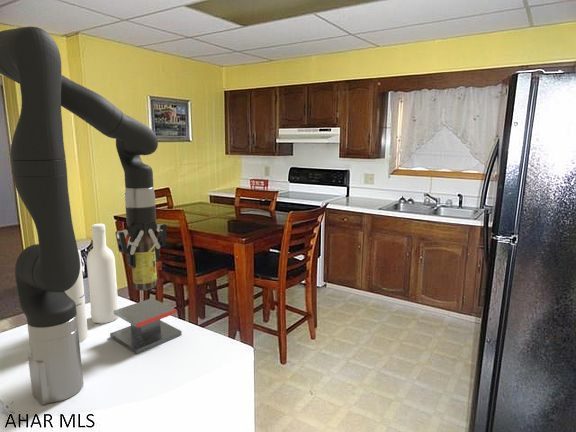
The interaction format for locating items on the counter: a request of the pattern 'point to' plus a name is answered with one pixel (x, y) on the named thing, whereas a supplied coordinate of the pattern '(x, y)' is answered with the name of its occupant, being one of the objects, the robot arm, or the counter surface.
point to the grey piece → (145, 325)
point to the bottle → (102, 278)
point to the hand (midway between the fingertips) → (144, 264)
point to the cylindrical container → (79, 304)
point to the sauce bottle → (145, 262)
